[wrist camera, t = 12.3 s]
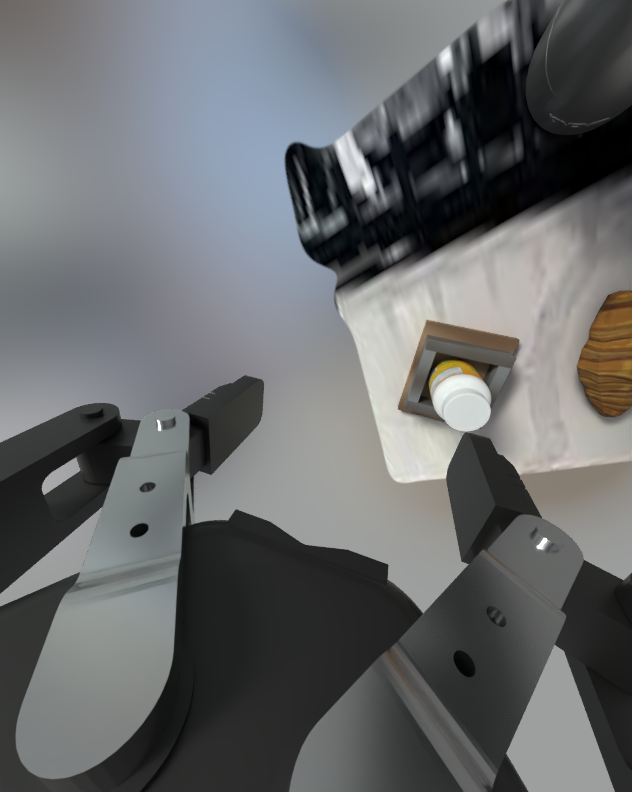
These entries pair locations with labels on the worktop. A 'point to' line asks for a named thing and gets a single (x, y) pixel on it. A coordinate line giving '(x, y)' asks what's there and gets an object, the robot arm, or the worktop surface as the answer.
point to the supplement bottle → (459, 394)
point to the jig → (452, 341)
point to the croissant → (609, 357)
